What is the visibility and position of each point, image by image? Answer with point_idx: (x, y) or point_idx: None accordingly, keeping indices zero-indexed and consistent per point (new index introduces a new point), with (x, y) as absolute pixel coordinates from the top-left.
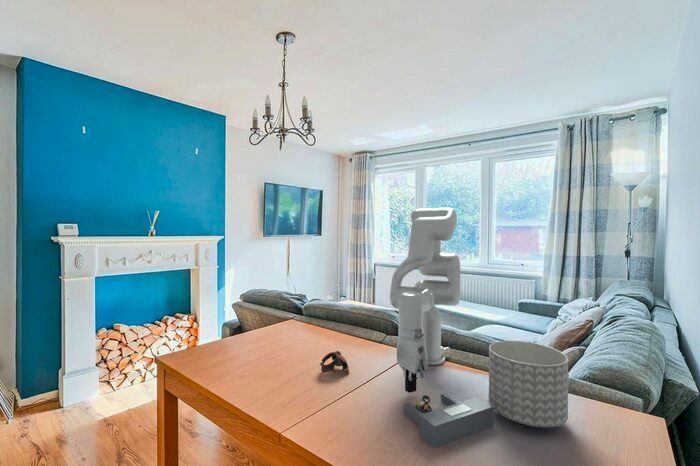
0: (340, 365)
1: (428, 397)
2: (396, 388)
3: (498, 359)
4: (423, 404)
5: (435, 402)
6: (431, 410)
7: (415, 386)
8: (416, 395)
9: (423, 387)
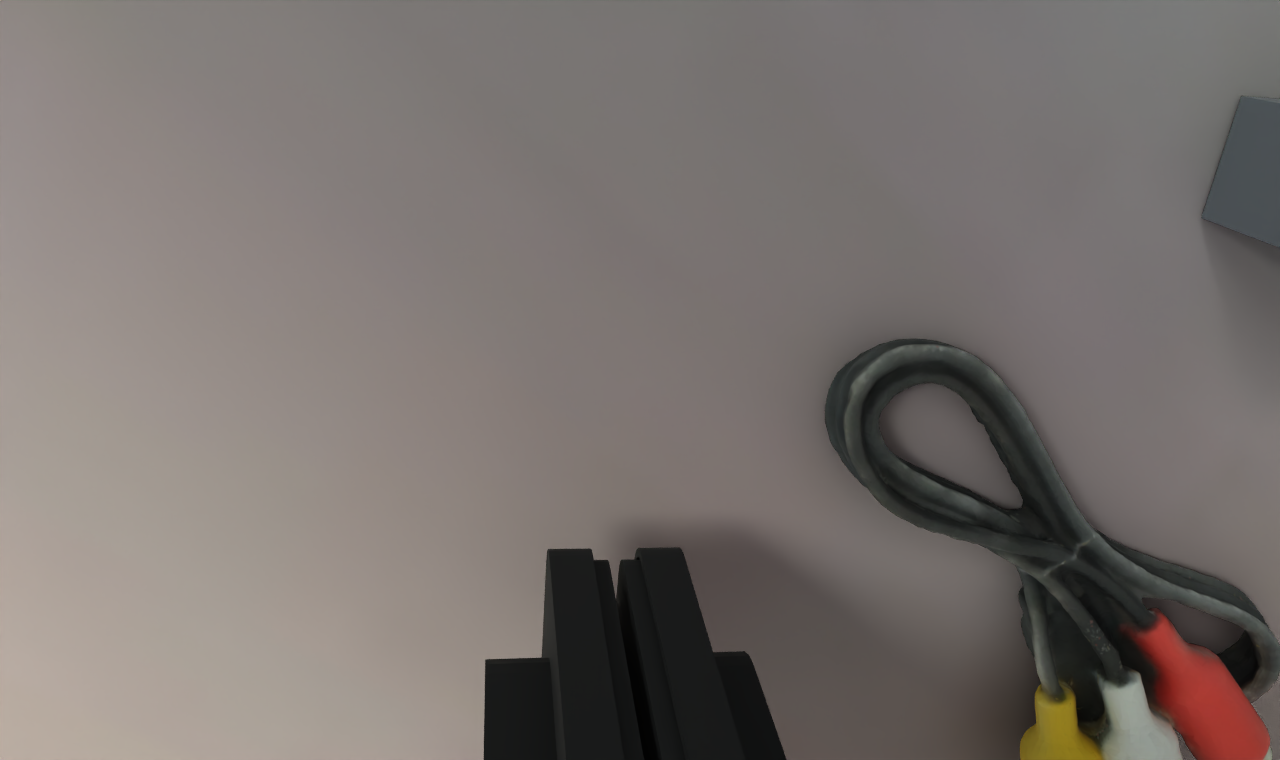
0: None
1: (946, 369)
2: (170, 657)
3: None
4: (1180, 754)
5: (1121, 326)
6: (1266, 625)
7: (765, 708)
8: (666, 478)
9: (409, 30)
